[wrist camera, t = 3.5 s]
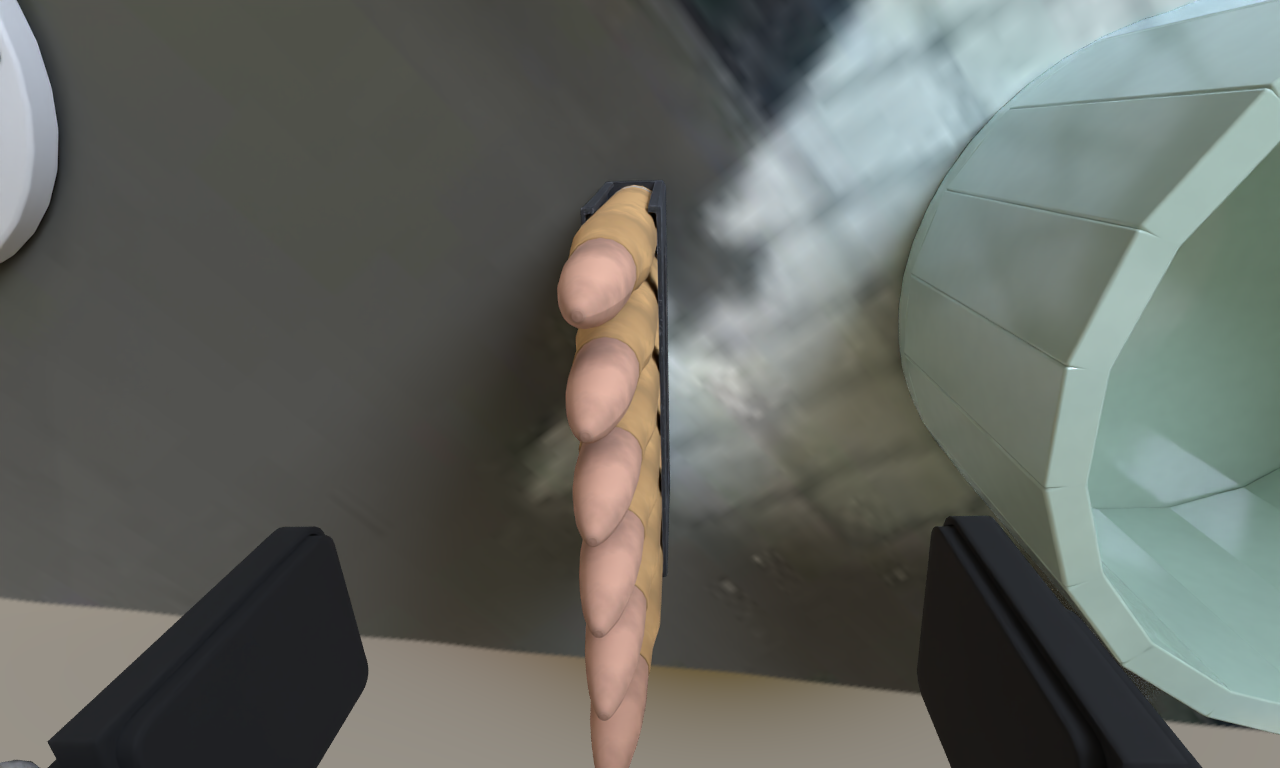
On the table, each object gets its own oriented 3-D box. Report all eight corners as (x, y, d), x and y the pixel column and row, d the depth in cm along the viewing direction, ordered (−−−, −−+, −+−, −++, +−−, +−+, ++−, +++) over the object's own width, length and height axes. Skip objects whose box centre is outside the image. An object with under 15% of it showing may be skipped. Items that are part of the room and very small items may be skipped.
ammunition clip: (604, 181, 19) (499, 244, 8) (665, 180, 19) (646, 241, 8) (618, 492, 23) (561, 826, 12) (669, 492, 23) (661, 830, 12)
